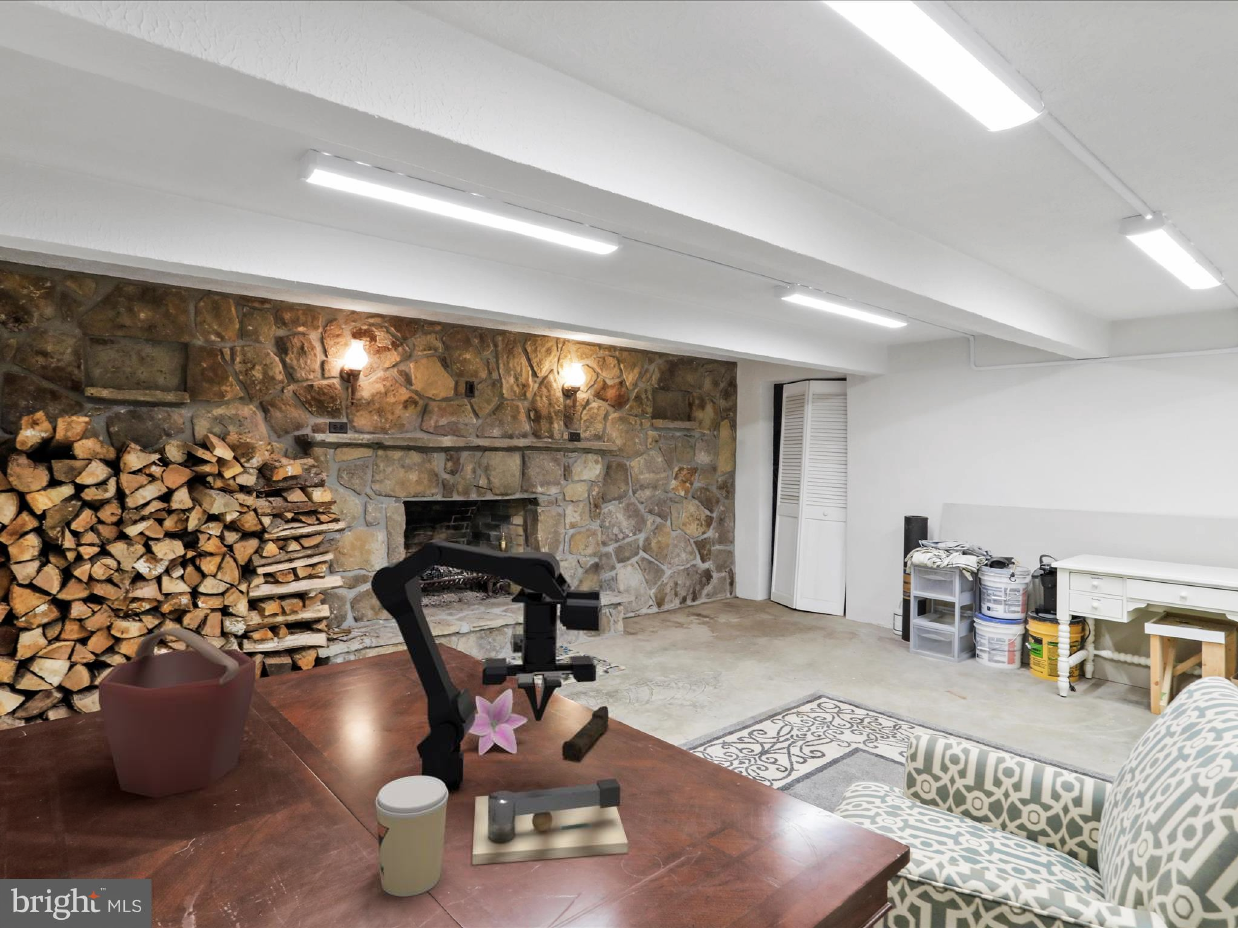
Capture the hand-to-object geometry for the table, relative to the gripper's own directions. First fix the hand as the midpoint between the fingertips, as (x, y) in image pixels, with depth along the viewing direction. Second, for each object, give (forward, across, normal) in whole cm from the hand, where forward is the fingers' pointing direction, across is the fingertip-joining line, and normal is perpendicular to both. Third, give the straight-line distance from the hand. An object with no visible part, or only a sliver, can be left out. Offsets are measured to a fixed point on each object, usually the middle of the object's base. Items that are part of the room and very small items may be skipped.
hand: (538, 720), depth 120 cm
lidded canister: (+12, +18, +22) cm, 31 cm away
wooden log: (+12, -11, -19) cm, 25 cm away
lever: (+10, -2, +15) cm, 18 cm away
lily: (+12, +7, -18) cm, 23 cm away
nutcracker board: (+12, -1, +12) cm, 17 cm away
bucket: (+12, +61, -13) cm, 64 cm away
